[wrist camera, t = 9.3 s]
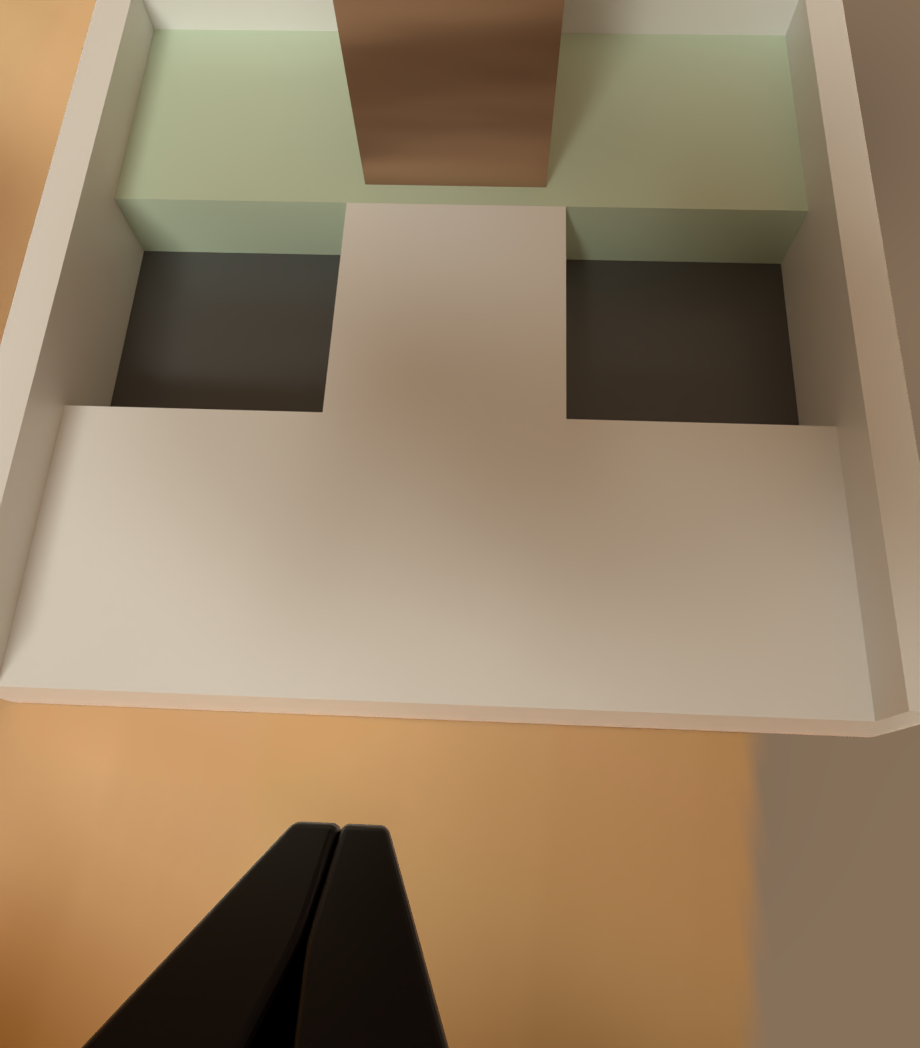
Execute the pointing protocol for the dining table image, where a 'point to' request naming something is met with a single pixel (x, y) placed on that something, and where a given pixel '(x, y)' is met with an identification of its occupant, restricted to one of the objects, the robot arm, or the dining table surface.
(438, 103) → the block
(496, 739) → the dining table surface
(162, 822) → the dining table surface
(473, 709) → the trap box
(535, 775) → the dining table surface
